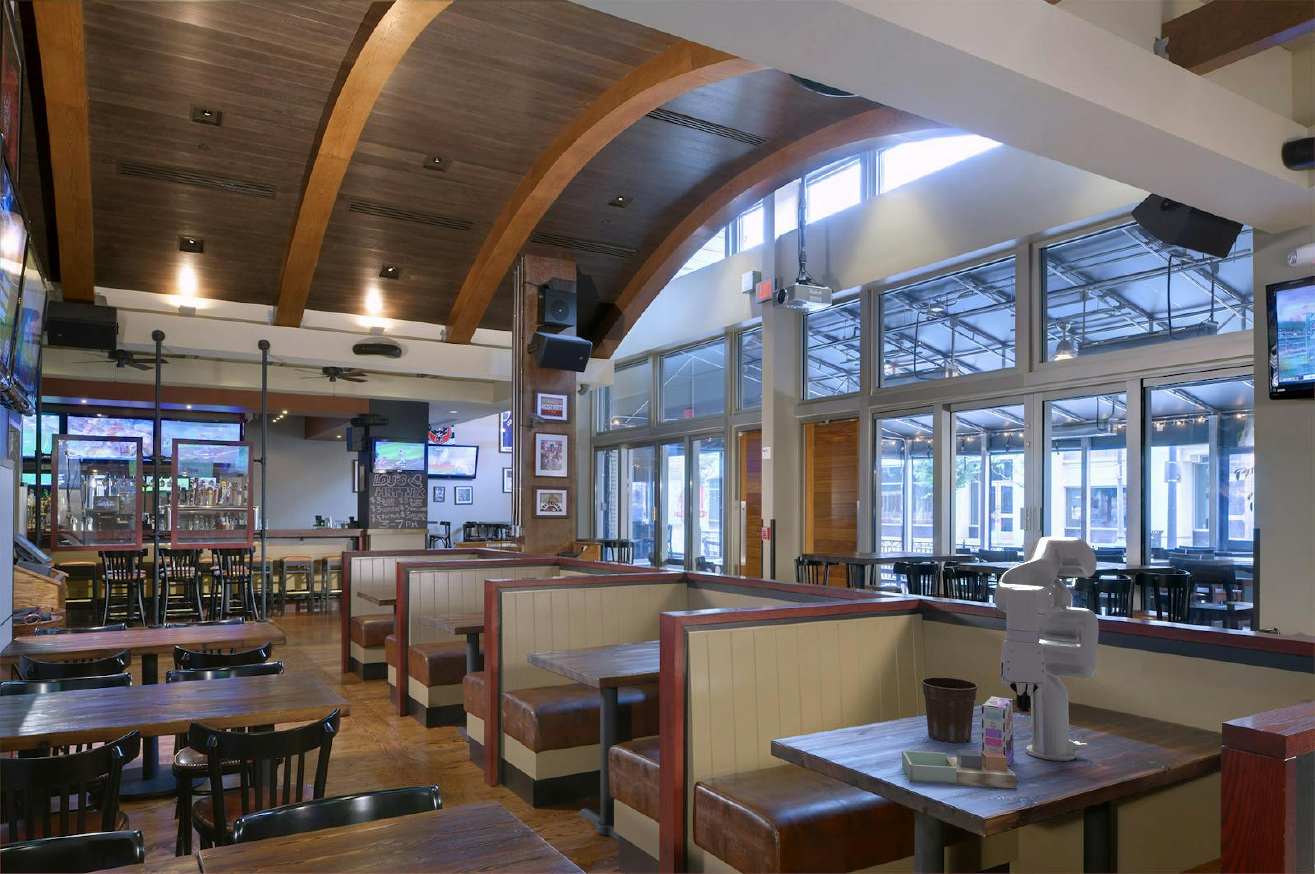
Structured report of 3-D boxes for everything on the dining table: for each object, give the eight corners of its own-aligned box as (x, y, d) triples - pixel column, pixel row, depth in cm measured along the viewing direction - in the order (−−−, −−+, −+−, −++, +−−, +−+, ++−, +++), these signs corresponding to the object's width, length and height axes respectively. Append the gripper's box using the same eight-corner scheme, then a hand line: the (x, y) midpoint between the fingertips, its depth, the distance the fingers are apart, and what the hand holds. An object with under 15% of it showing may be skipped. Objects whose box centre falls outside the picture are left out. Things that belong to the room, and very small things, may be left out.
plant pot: (987, 746, 242) (986, 688, 243) (930, 744, 242) (930, 687, 243) (967, 731, 258) (967, 677, 259) (914, 729, 258) (914, 676, 259)
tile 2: (1001, 764, 214) (1001, 751, 214) (1007, 770, 209) (1006, 757, 209) (981, 762, 215) (981, 750, 215) (986, 768, 210) (986, 756, 210)
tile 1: (977, 762, 215) (976, 750, 215) (982, 768, 210) (981, 756, 210) (956, 761, 215) (956, 749, 216) (961, 767, 210) (961, 755, 211)
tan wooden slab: (1001, 771, 217) (1001, 759, 218) (1016, 787, 205) (1015, 775, 205) (945, 768, 219) (945, 756, 220) (956, 784, 206) (956, 771, 207)
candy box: (1005, 772, 217) (1004, 707, 218) (981, 768, 220) (980, 704, 221) (1014, 759, 229) (1013, 697, 230) (991, 755, 232) (990, 694, 233)
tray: (945, 768, 219) (945, 752, 220) (956, 784, 206) (956, 767, 207) (902, 765, 221) (902, 750, 221) (910, 781, 208) (910, 765, 208)
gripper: (1048, 636, 216) (1050, 709, 214) (988, 633, 218) (988, 705, 216) (1058, 640, 209) (1060, 715, 207) (995, 637, 211) (996, 712, 209)
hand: (1023, 710), depth 212 cm, fingers closed
